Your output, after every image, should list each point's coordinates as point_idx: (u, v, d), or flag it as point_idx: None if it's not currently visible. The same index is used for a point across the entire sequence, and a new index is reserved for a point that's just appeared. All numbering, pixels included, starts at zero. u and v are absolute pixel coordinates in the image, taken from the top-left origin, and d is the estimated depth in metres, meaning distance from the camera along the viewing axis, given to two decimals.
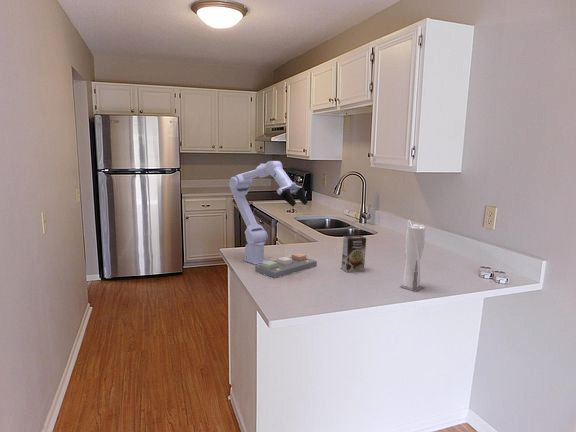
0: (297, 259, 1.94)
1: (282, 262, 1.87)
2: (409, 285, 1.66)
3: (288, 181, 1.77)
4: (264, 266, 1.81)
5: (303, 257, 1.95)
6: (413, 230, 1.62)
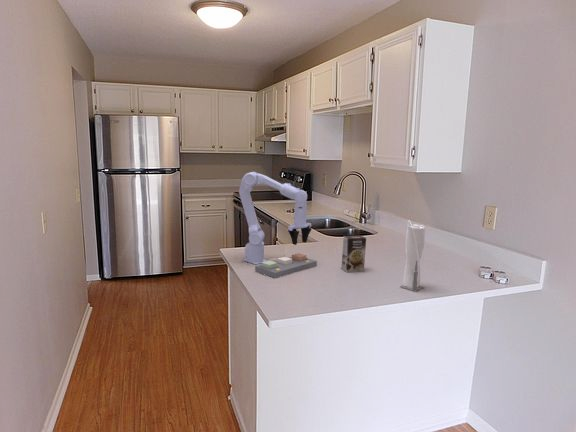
0: (297, 259, 1.94)
1: (282, 262, 1.87)
2: (409, 285, 1.66)
3: (303, 221, 1.91)
4: (264, 266, 1.81)
5: (303, 257, 1.95)
6: (413, 230, 1.62)
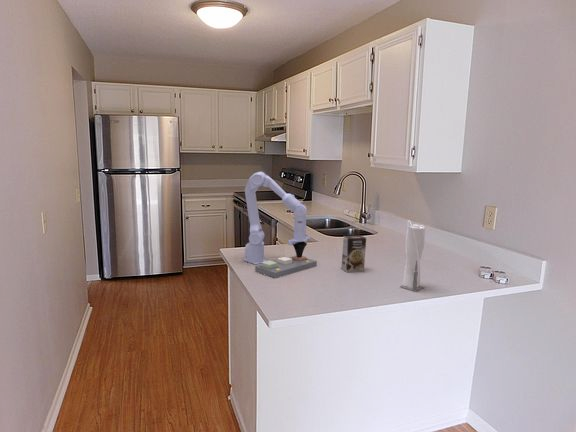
0: None
1: (282, 262, 1.87)
2: (409, 285, 1.66)
3: (302, 235, 1.92)
4: (264, 266, 1.81)
5: (303, 259, 1.95)
6: (413, 230, 1.62)
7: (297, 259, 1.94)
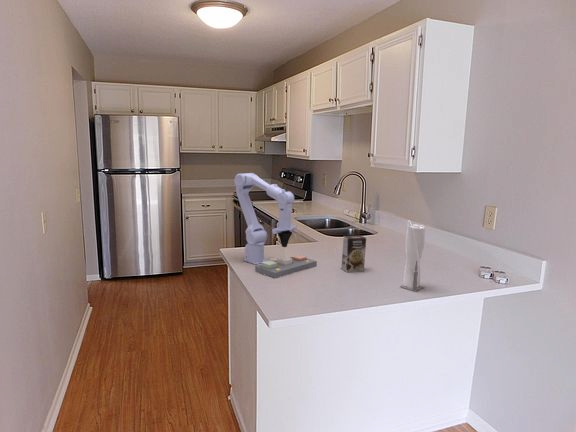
0: None
1: (282, 262, 1.87)
2: (409, 285, 1.66)
3: (287, 224, 1.83)
4: (264, 266, 1.81)
5: (303, 259, 1.95)
6: (413, 230, 1.62)
7: (297, 259, 1.94)
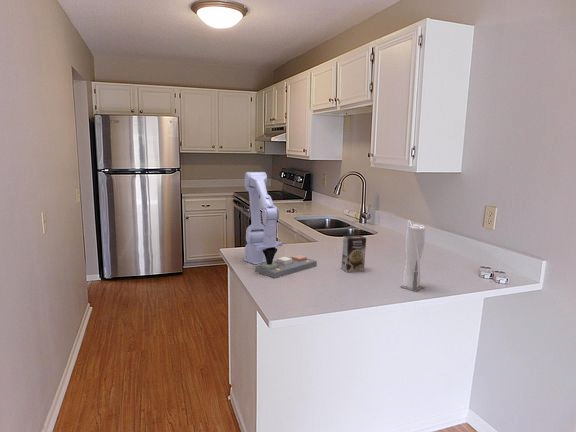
0: None
1: (282, 262, 1.87)
2: (409, 285, 1.66)
3: (272, 241, 1.77)
4: (264, 267, 1.81)
5: (303, 259, 1.95)
6: (413, 230, 1.62)
7: (297, 259, 1.94)
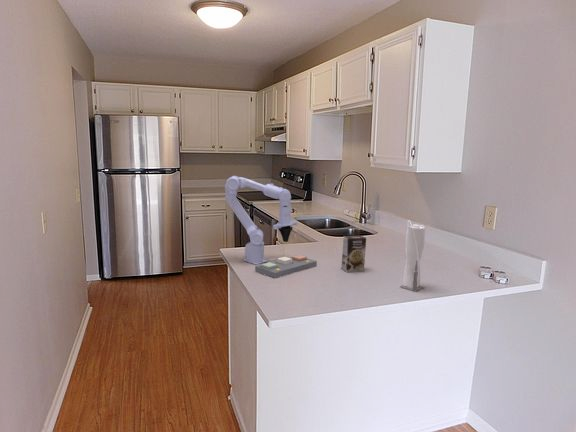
0: None
1: (282, 262, 1.87)
2: (409, 285, 1.66)
3: (287, 220, 1.93)
4: None
5: (303, 259, 1.95)
6: (413, 230, 1.62)
7: (297, 259, 1.94)
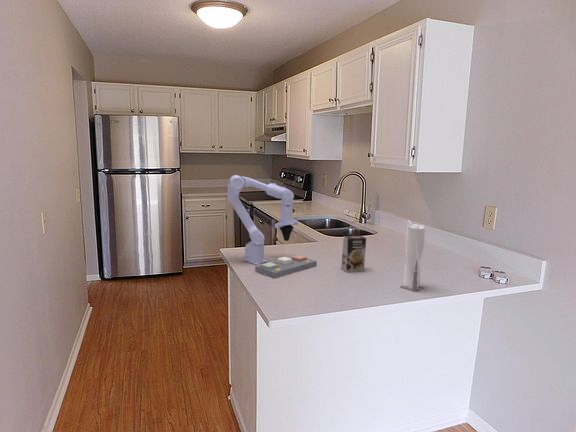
0: None
1: (282, 262, 1.87)
2: (409, 285, 1.66)
3: (289, 219, 1.96)
4: None
5: (303, 259, 1.95)
6: (413, 230, 1.62)
7: (297, 259, 1.94)
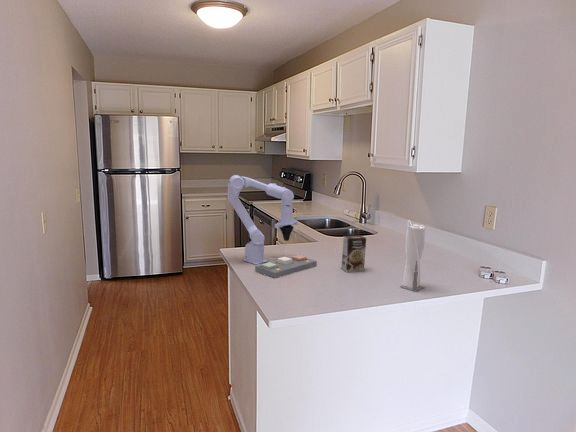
0: None
1: (282, 262, 1.87)
2: (409, 285, 1.66)
3: (289, 219, 1.96)
4: None
5: (303, 259, 1.95)
6: (413, 230, 1.62)
7: (297, 259, 1.94)
